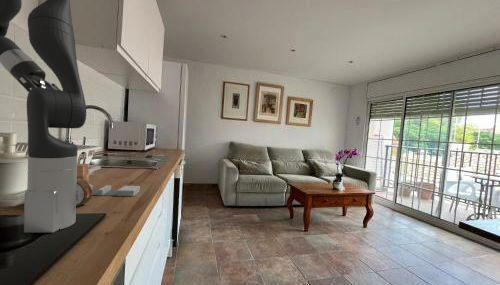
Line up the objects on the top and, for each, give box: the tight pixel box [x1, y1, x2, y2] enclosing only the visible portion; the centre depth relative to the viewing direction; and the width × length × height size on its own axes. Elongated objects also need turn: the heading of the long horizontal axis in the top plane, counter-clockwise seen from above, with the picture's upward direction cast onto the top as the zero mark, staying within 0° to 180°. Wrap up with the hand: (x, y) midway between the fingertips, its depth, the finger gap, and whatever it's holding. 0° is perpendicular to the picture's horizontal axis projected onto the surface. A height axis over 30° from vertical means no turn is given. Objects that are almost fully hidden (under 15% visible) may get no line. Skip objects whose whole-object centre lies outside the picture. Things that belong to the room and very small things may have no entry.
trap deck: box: [89, 184, 141, 197], centre depth 87 cm, size 7×22×2 cm, turn 99°
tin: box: [76, 178, 93, 207], centre depth 73 cm, size 15×3×8 cm, turn 84°
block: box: [77, 162, 90, 183], centre depth 85 cm, size 4×4×8 cm
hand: (61, 106), depth 78 cm, fingers open, 8 cm apart
